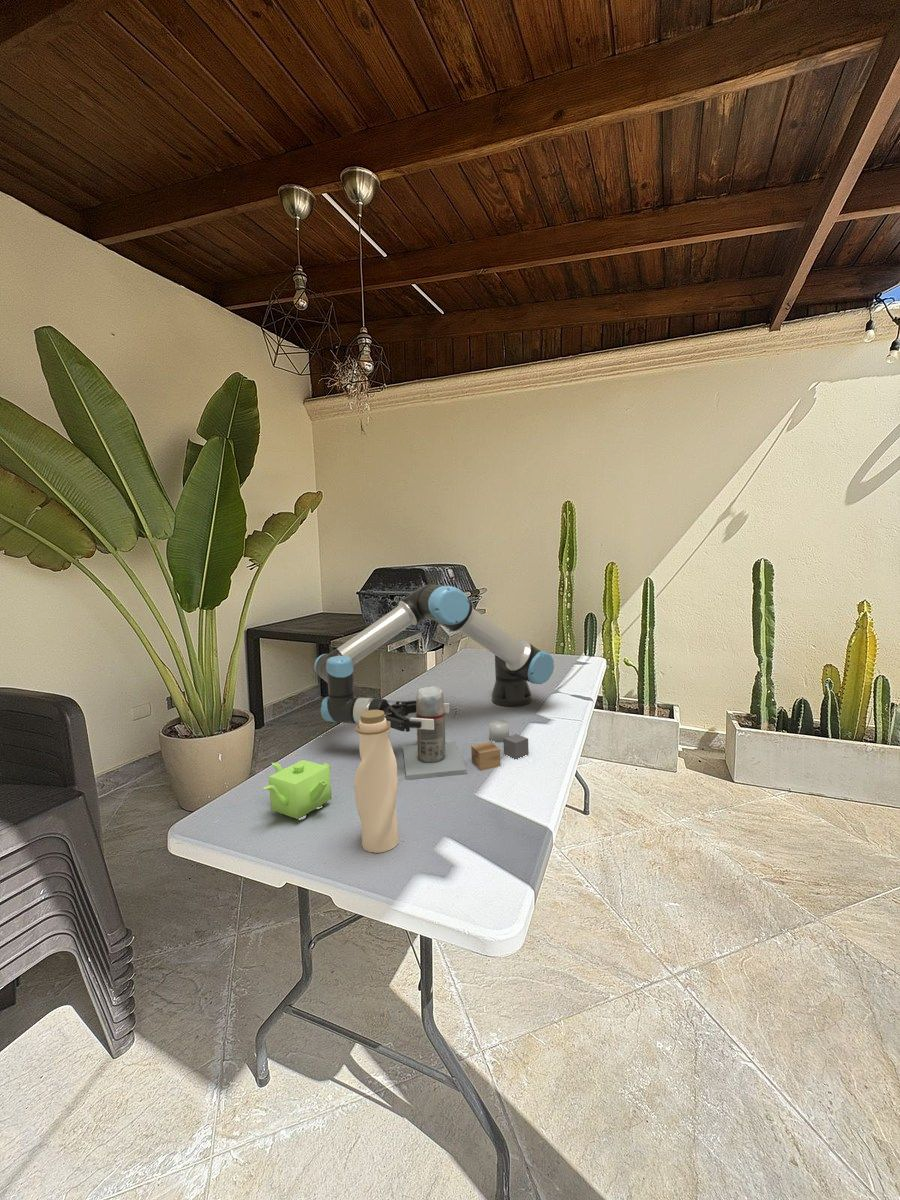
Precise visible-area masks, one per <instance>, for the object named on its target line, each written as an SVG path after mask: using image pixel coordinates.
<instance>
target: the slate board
mask: <svg viewBox="0 0 900 1200" xmlns="http://www.w3.org/2000/svg"><path fill="white" fill-rule="evenodd" d="M417 746H418V745H417V744H413V745H412V744H411V745H403V746H402V753H403V762H404V770H405V778H406V781H408V780H409V781H410V780H419V779H428V778H438V777H447V776H457V775H458V776H459V775H460V776H461V775H467V768H466V766H465V765H466V764H465V763H464V760H463V758H462V755H461V752H460V750H459V747H458V744H457V741H445V755H446V756H445V758H444V759H443V760H440V761H437V762H423V761H421V760H419V759H418V758H417V755H418V748H417Z"/></svg>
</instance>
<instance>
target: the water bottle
mask: <svg viewBox="0 0 900 1200" xmlns="http://www.w3.org/2000/svg"><path fill="white" fill-rule="evenodd" d="M360 716H361V720H360V721H359V724H357V725H355V728H354V729H355V732H356V733H357V734H359V745H358V746H359V747H358V748H359V756H360V760H361V761H360V763H359V764H358V767H357V769H356V770H355V774H354V778H353V779H354V783H353V789H354V799H355V800H354V801H355V803H356V804H355V805H356V810H357V814H358V817H359V821H360V824H361V825H360V826H361V846H363V847H362V848H363V849H364V851H366V850H367V851H366V852H369V853H372V852H374V853H373V854H380V853H385V852H388V851H390V850H392V849H393V848H395V847H396V846H397V845H398V844H399V841H400V839H399V838H400V837H399V824H398V814H397V813H398V812H397V808H396V803H397V797H398V789H399V780H398V779H399V778H398V764H397V758H396V755H395V752H394V749H393V746H392V744H391V728H390V721H386V718H385V714H384V711H382V710H368V711H364V712H362V713H361V714H360Z"/></svg>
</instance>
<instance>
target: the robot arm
mask: <svg viewBox="0 0 900 1200" xmlns="http://www.w3.org/2000/svg"><path fill="white" fill-rule="evenodd" d="M425 620H431V621H435V622H436V623H438V624H440V625H441V626H443V627H445V628H446V629H447V630H449V631H451V632H457V631H459V632H460V633H461V634H463V635H465V636H467V637H468V638H470V639H471V640H473V641H474V642H475V643H477V644H478V645H480V646H482V648H485V649H486V650H487V651H489V652H490V653H492V654H493V655H494V667H495V668H494V669H495V671H494V672H495V674H494V675H495V682H494V685H493V689H492V692H491V702H492V703H493V704H495V705H498V706H501V707H502V706H503V707H519V706H525V705H528V704H530V703H531V702H532V701H533V700H532V698H533V697H532V691H531V689H530V687H529V684H528V683H531V684H532V685H543V684H544V683H546V682H548V681H549V680H550V678H551V677H552V675H553V673H554V669H555V661H554V658H553V656H552V655H551V654H550V653H549V652H547V651H546V650H540V649H539V648H537V647H536V646H534V645H533V644H532V643H530V642H529V641H527V640H524V639H516V637H514V636H513V635H511V634H509V633H508V632H507V631H506V630H504V629H503V628H502V627H500V626H498V625H497V624H496V623H494V622H493V621H492V620H490V619H488V618H487V617H486V616H485V615H483V614H482V613H480V612H479V611H477V610H476V609H474V603H473V602H472V601H471V600H469V598H468V596H467V595H466V593H465V592H464V591H462V589H459V588H457V587H455V586H452V585H440V584H433V583H431V584H429V583H428V584H425V585H423V586H421V587H419V588H417V589H416V590H414V591H413V592H411V593H410V594H408V595H407V596H405V597H404V598H402V599H401V600H400V601H398V605H397V606H396V607H395V608H393V609H391V611H388V613H386V614H384V615H383V616H381V617H380V618H379V619H377V620H376V621H375V622H373V623H372V624H370V625H369V626H367V627H366V628H364V629H363V630H362V631H359V632H358V633H357V634H356V635H354V636H353V637H352V638H350V639H349V640H347V641H346V642H344V643H343V644H341V645H340V646H339V647H337V648H336V649H334V650H332V651H331V652H329V653H323V654H321V655H319V656H318V657H317V658H316V659H315V661H314V665H313V666H314V668H313V669H314V671H315V673H316V674H317V676H318V677H320V679H323V681H325V682H326V683H327V690H328V695H327V696H325V697H324V698H323V699H322V702H321V707H320V714H321V717H322V718H323V719H324V720H325V721H327V722H330V723H331V722H332V723H337V724H340V723H342V724H346V723H347V724H357V725H358V724H359V721H360V720H361V716H360V714H361V713H362V712H364V711H368V710H382V711H384V714H385V718H386V721H390V729H394V730H397V731H400V732H404V731H405V732H407V733H408V732H411V730H410V729H414V730H417V729H427V730H434V719H423V718H416V717H410V718H407V716H408V715H409V714H415V713H416V699H415V700H406V701H395V703H394V704H392V705H390V703H389V701H388V700H387V699H385V698H372V697H356V696H355V682H354V681H355V679H354V666H355V665H356V664H357V663H359V662H360V661H362V660H363V659H364V658H366V657H367V656H368V655H370V654H371V653H373V652H374V651H376V650H377V649H378V648H380V647H381V646H382V645H384V644H385V643H387V642H388V641H390V640H391V639H393V638H394V637H395V636H397V635H398V634H400V633H401V632H403V631H404V630H405V629H406V628H407V629H408V627H410V626H411V625H413V626H417V624H419V623H420V622H422V621H425ZM444 708H445V714H449V713H450V703H449V702H448V703H447V702H444Z"/></svg>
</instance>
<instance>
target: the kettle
mask: <svg viewBox="0 0 900 1200" xmlns="http://www.w3.org/2000/svg"><path fill="white" fill-rule="evenodd" d="M271 765H272V766H273V767H274V770H275V771H276V772H275V773H272V774H271V775H270V776H268V778H267V779H268V785H266V786H264V787H263V788H262V789H263V790H267V791H269V799H270V801H269V802H270V809H271V811H273V812H276V813H279V814H280V815H282V814H284V815H285V816H287V817H290V818H293V819H296V820H297V819H299V818H301V817H303V816H305V815H306V816H307V814H309V813H310V812H311V813H312V811H314V810H316V808H317V807H321V806H322V805H324V804H326V803H327V802H329V801H331V800H332V799H333V797H332V788H331V787H332V786H331V784H332V783H331V773H330V771H331V768H332V765H330V764H329V763H326V762H324V763H323V764H320V763H316V762H313V761H309V760H305V759H302V760H299V761H298V762H296V763H293V764H291V765H289V766H287V767H285V768H283V767H282V766H281V764H280V763H278V762H271ZM284 815H283V816H284Z"/></svg>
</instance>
